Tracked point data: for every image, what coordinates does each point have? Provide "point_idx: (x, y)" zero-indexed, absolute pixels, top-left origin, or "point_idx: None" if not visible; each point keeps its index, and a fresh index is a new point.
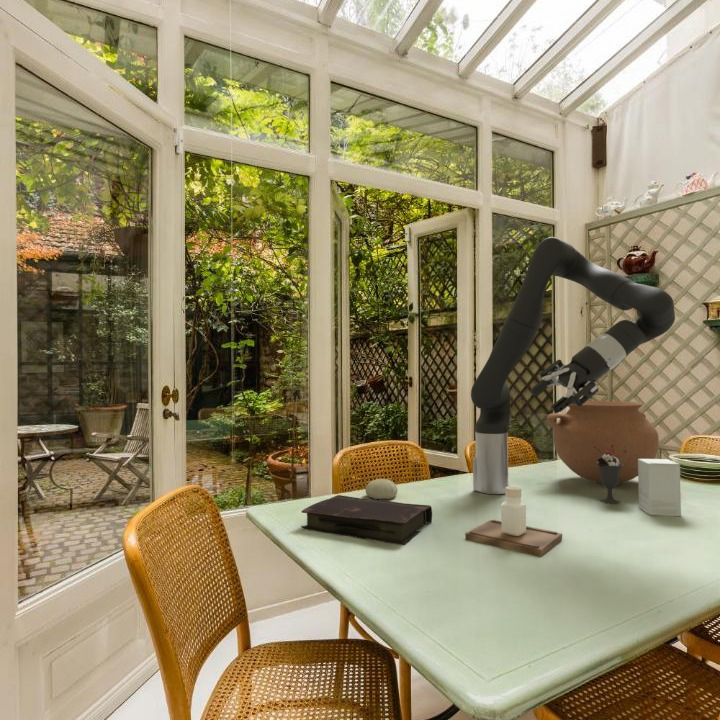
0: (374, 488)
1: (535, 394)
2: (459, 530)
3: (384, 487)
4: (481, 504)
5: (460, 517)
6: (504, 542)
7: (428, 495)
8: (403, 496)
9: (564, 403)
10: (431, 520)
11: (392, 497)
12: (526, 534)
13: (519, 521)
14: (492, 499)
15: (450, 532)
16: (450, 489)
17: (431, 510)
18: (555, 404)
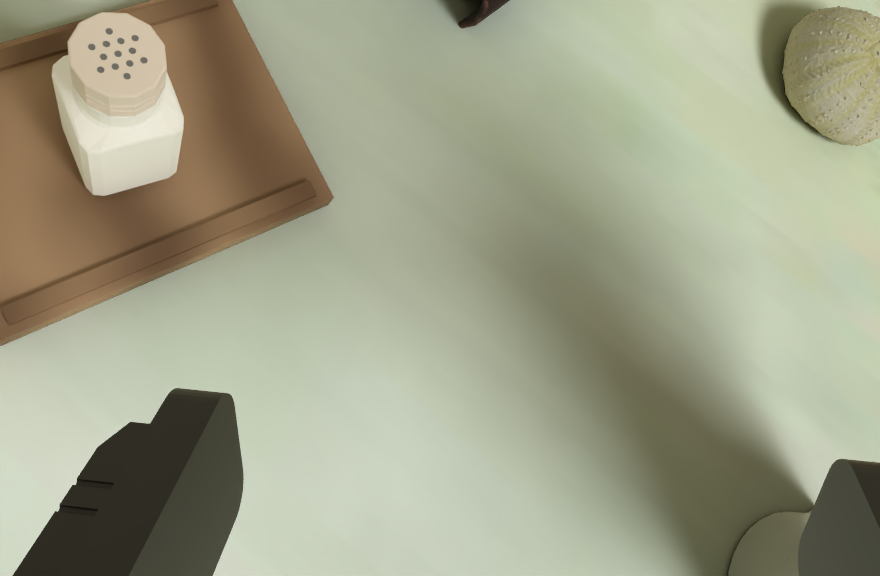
0: (825, 10)
1: (813, 541)
2: (324, 49)
3: (820, 42)
4: (610, 387)
5: (474, 170)
6: (42, 32)
7: (795, 263)
8: (806, 161)
9: (36, 560)
10: (464, 24)
11: (786, 95)
12: (76, 186)
13: (58, 106)
14: (665, 494)
15: (318, 2)
16: (857, 417)
17: (482, 5)
18: (160, 429)
